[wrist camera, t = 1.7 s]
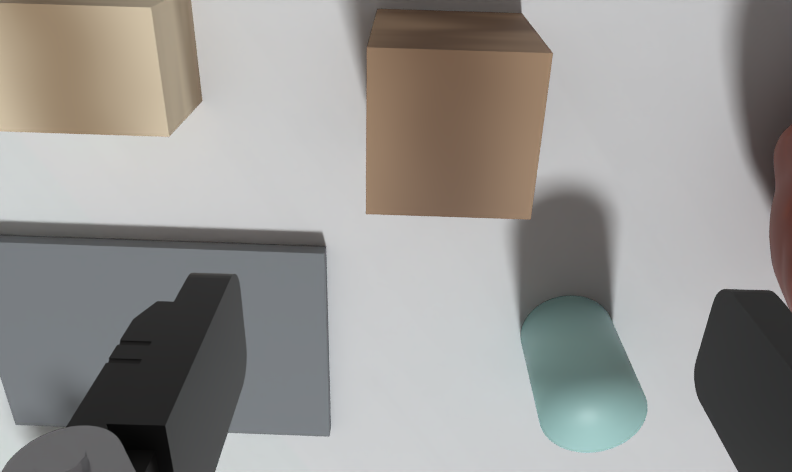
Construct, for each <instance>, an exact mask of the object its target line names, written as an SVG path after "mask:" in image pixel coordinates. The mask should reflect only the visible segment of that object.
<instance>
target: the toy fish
mask: <svg viewBox="0 0 792 472" xmlns="http://www.w3.org/2000/svg"><path fill="white" fill-rule="evenodd" d="M774 173H775V193H774V198H773V202H772V207H771V214H770V226H769V238H770V251H771V259H772V265H773V269H774V272H775V275H776V278H777V280H778V283H779V285H780V288H781V290H782V293H783V295H784V298H785V300H786V302H787V305H788V307H789V309H790V311H791V312H792V125H790V126H789V127H788V128H787V129H786V130H785V131H784V132H783V133H782V134H781V136H780V137H779V139H778V141H777V143H776V146H775V150H774Z"/></svg>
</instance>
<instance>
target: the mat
mask: <svg viewBox="0 0 792 472" xmlns="http://www.w3.org/2000/svg"><path fill="white" fill-rule="evenodd" d="M190 273H226V274H236V275H237V276H238V278H239V282H240V289H241V299H242V308H243V318H244V328H245V337H246V348H247V364H246V374H245V379H244V384H243V387H242V390H241V393H240V396H239V400H238V403H237V406H236V409H235V412H234V415H233V418H232V421H231V424H230V427H229V430H228V433H249V434H275V435H302V436H330V430H331V415H330V377H329V339H328V301H327V263H326V247H323V246H294V245H265V244H237V243H208V242H179V241H151V240H122V239H93V238H65V237H36V236H7V235H0V377H1V380H2V383H3V387H4V390H5V393H6V396H7V399H8V402H9V405H10V408H11V411H12V415H13V418H14V421H15V424H16V425H36V426H63V427H66V426H67V425H68V423H69V421H70V420H71V418H72V416H73V415H74V413H75V412H76V410H77V408H78V407H79V405H80V404H81V402H82V400H83V399H84V397H85V396H86V394H87V392H88V391H89V389H90V388H91V386H92V384H93V383H94V381H95V380H96V378H97V376H98V375H99V373H100V371H101V370H102V368H103V367H104V365H105V363H108V362H109V357H110V355H111V354H112V352H113V351H114V349H115V347H116V346H117V345H119V344H120V339H121V338H122V336H123V334H124V333H125V331H126V330H127V328H128V326H129V325H130V323H131V322H132V320H133V319H134V318H135V317H137V316H138V315H139V314H141V313H142V312H143V311H145V310H146V309H147V308H149V307H150V306H151V305H153V304H154V303H155V302H157V301H170V302H174V300H175V299H176V297H177V295H178V293H179V291H180V289H181V288H182V286H183V284H184V282H185V280H186V279H187V277H188V275H189V274H190Z"/></svg>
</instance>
